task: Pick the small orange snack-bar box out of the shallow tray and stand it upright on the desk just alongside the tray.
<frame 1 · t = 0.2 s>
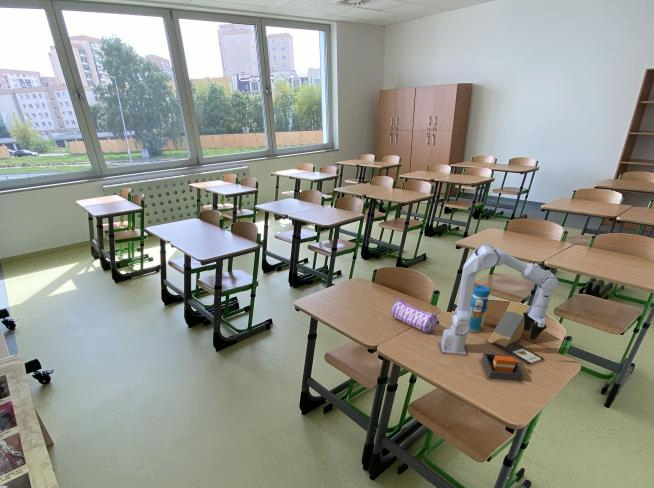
hand: (529, 334, 160), 10 cm above the table, tool pointing down, fingers open, 7 cm apart
sandwich container: (503, 340, 176), on the table, touching chocolate bar
snack box: (501, 369, 155), resting on tray
tray: (500, 370, 155), on the table
pencil case: (412, 325, 187), on the table
chocolate bar: (516, 352, 167), on the table, touching sandwich container
beverage bottle: (472, 328, 185), on the table
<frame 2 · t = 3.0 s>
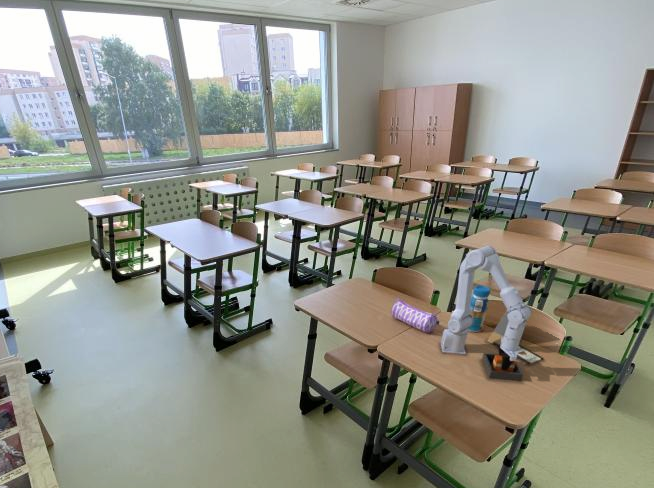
hand: (502, 366, 154), 2 cm above the table, tool pointing down, fingers closed on snack box, 3 cm apart
snack box: (501, 369, 155), resting on tray, touching gripper
everything else where it was.
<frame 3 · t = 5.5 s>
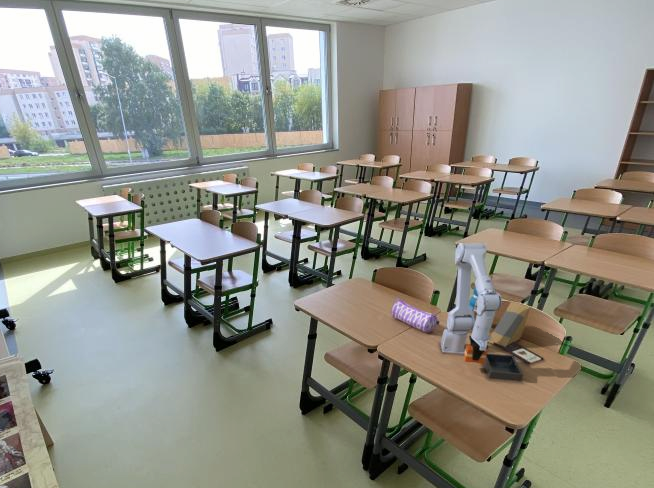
hand: (474, 357, 150), 7 cm above the table, tool pointing down, fingers closed on snack box, 3 cm apart
snack box: (473, 360, 151), point 6 cm above the table, touching gripper
everything else where it was.
when the fingers open (1 cm above the table, at t = 7.2 s): snack box stays where it is, on the table.
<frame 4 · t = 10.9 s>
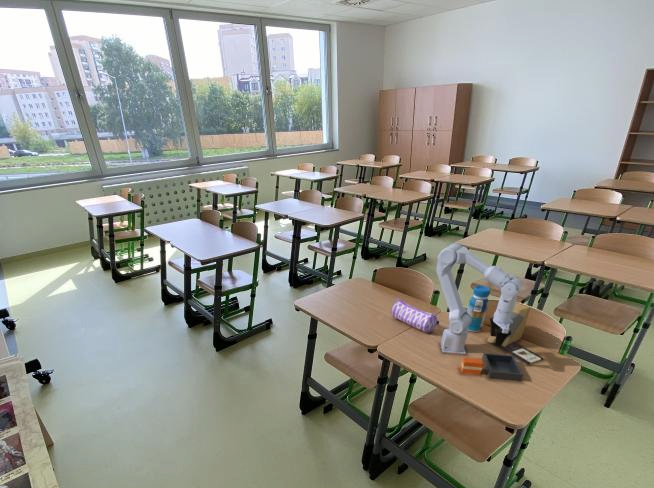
hand: (495, 340, 156), 9 cm above the table, tool pointing down, fingers open, 7 cm apart
snack box: (470, 372, 154), on the table
everything else where it was.
at the end: snack box inside the target area (0.2 cm from its centre), on the table; snack box tilted 0°; the gripper is holding nothing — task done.
